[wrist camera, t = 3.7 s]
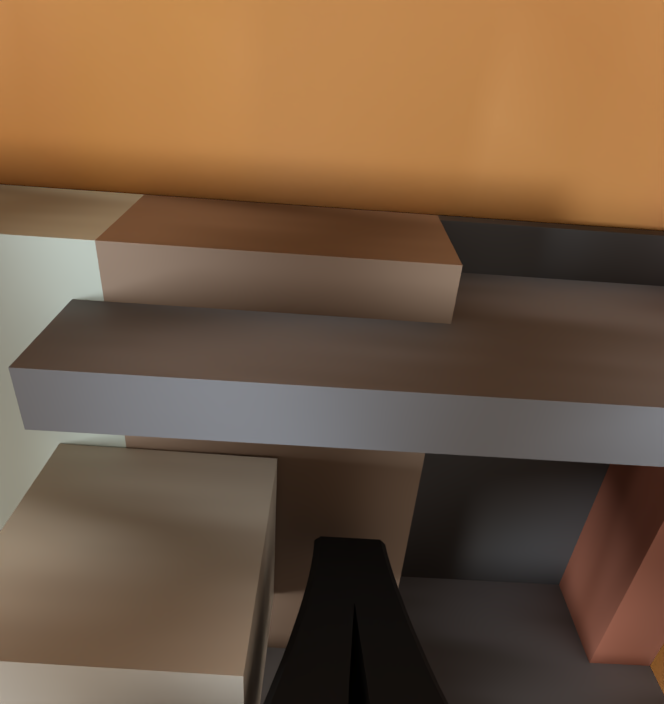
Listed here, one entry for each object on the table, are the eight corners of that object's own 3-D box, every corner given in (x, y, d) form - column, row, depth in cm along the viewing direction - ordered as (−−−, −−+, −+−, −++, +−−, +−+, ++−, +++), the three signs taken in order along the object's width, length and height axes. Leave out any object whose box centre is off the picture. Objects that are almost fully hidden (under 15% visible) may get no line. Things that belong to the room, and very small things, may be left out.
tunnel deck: (-22, 591, 16) (-132, 767, 13) (-186, 171, 10) (-496, 264, 6) (586, 621, 17) (660, 800, 13) (773, 238, 11) (1013, 362, 7)
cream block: (91, 584, 12) (-7, 802, 9) (59, 443, 10) (-84, 656, 7) (273, 596, 12) (245, 817, 9) (277, 458, 10) (243, 675, 7)
